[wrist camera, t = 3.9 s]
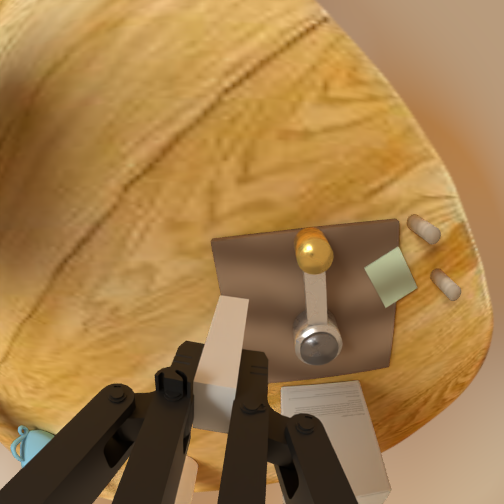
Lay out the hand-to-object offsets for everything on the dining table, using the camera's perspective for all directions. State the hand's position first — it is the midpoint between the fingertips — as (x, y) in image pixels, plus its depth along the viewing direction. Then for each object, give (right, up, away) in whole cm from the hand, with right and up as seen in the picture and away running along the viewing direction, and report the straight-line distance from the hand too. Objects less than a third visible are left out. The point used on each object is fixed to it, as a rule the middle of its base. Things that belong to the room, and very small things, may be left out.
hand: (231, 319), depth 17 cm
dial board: (+9, -2, +12) cm, 16 cm away
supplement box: (+9, -15, +18) cm, 25 cm away
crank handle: (+6, 0, +11) cm, 12 cm away
